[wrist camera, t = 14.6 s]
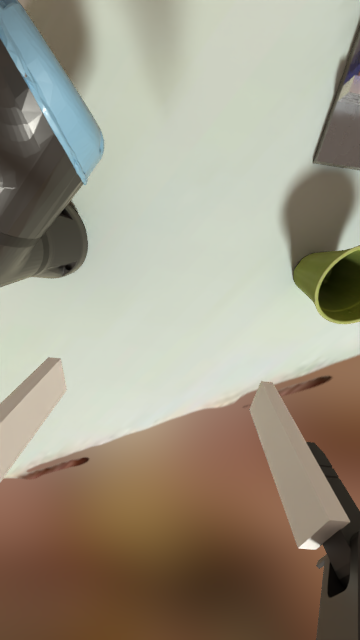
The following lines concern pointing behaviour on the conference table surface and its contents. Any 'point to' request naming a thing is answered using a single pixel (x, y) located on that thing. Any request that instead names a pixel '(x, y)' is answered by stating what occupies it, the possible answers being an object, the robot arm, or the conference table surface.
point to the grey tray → (344, 119)
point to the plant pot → (332, 283)
